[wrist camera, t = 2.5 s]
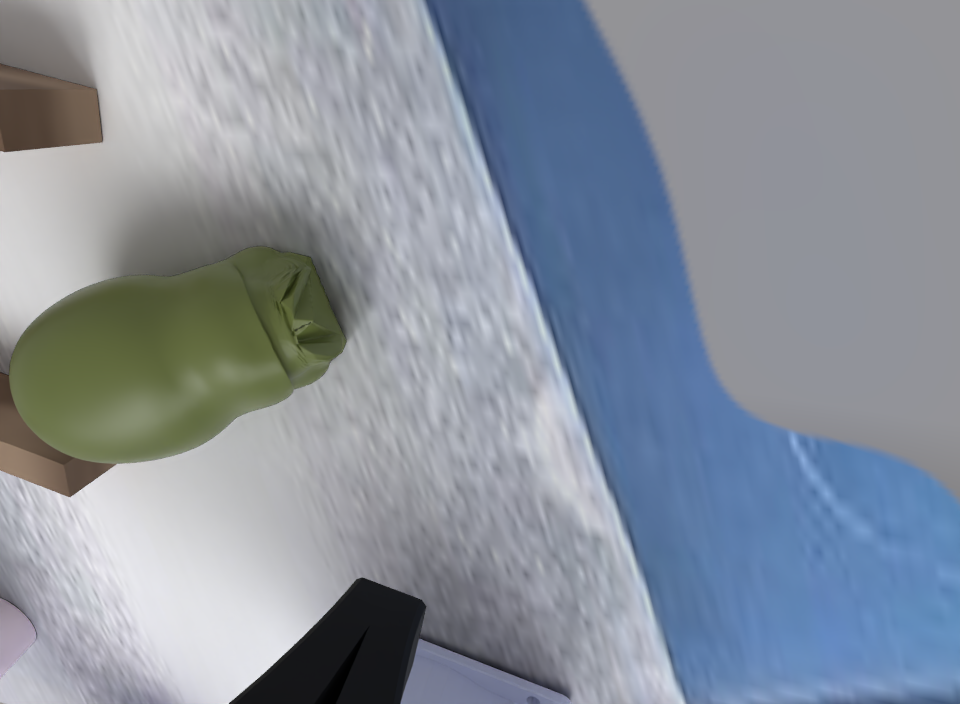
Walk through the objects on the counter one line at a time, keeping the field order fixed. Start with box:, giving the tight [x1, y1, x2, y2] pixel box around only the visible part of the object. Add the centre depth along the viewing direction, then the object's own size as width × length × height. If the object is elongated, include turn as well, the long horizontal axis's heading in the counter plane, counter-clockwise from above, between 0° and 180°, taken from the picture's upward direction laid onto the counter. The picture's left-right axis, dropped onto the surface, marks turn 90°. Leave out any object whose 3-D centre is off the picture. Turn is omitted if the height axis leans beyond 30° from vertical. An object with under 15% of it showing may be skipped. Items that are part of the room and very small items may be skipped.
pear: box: [9, 246, 346, 464], centre depth 17 cm, size 6×5×10 cm
